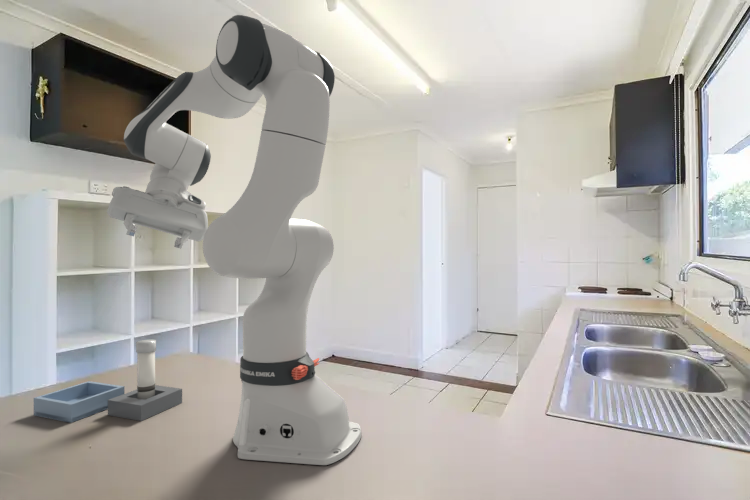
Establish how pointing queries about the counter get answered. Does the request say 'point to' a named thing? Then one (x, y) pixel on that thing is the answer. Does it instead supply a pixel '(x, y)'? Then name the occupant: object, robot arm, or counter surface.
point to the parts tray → (76, 401)
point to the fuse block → (144, 403)
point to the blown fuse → (145, 368)
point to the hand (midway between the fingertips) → (155, 240)
